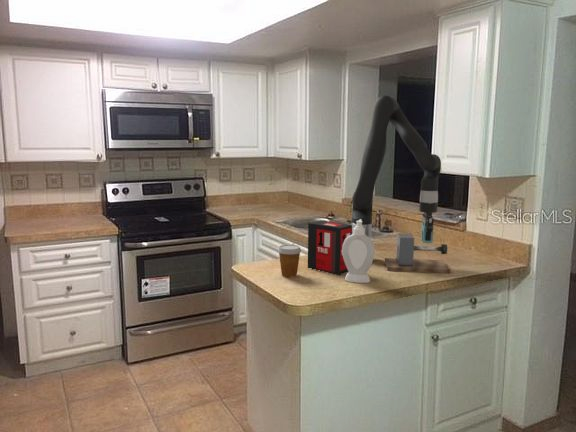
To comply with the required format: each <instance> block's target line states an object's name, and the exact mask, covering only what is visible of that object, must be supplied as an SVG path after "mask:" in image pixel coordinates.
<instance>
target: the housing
mask: <svg viewBox="0 0 576 432" xmlns="http://www.w3.org/2000/svg"><path fill="white" fill-rule="evenodd" d="M396 237H397V239H396V240H397V241H396V260H397V263H398V265H399V266H413V259H414V251H415V250H414V246H415V237H414V235H413V233H407V232H406V233H404V232H403V233H402V232H398V233H397V236H396Z"/></svg>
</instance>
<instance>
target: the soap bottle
mask: <svg viewBox="0 0 576 432" xmlns="http://www.w3.org/2000/svg"><path fill="white" fill-rule="evenodd" d="M356 222H357V226H355V228H353V234H352V235H350V236H348V237H347V238H346V239H345V240H344V243H343V246H342V255H343V259H344V262H345V264H346V267H347V269H348V272H347V273H345V274H346V275H345V277H344V281H346V282H350V283H354V282H355V283H356V284H369V283H370V282H371V280H370V277H369V274H368V271H369V270H370V268H371V266H372V264H373V261H374V258H375V256H376V255H375V254H376V247H375V244H374V242H373V240H372V238H371V239H370V237H368V236H366V235H365V228H363V226H362V219H360V220H359V221H356Z"/></svg>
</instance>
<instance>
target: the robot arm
mask: <svg viewBox="0 0 576 432" xmlns="http://www.w3.org/2000/svg"><path fill="white" fill-rule="evenodd" d="M389 123H390V124H391V125H393V127H394V128H395V130H396V131H397V132H398V133H399V136H400V138H401V140H402V141H403V143H404V144H405V145H406V147H407V148H408V150H409V151H410V152H411V153H412V154H413V156H414V158H415V160H416V163H418V166H419V167H420V168H421V169H422V170H423V172H424V173H423V177H421V181H420V193H419V207H418V210H419V212H420V213H422V224H421V226H422V225H424V227H426V230H425V231H426V236H425V240H426V241H430V240H431V232H432V231H433V232H434V220H435V219H434V216H433V214H434V213H437V212H438V204H439V192H438V191H439V189H438V188H439V178H440V173H441V169H442V160H441V158H440V156H438V154H434V153H431V151H430V150H429V149H428V145H427V142H426V141H425V140H424V139H423V137H422V136H421V135H420V133H419V132H418V131H417V130H416V129H415V128H414V126H413V125H412V124H411V123H410V121H409V120H408V118H407V117H406V115H405V113H404V112H403V109H402V108H401V107H400V104H399V103H398V101H397V99H396V98H394V97H391V96H390V95H381V96H379V97H378V98H377V100H376V101H375V102H374V106H373V112H372V119H371V125H370V129H369V132H368V136H367V140H366V143H365V147H364V151H363V154H362V160H361V167H360V175H359V179H358V183H357V184H356V189H355V191H354V192H353V194H352V198H351V199H352V206H351V207H352V208H351V209H352V213H351V225H352V234H353V228H355V226H357V222H356V221H359V220H360V219H362V226H363V228H365V235H366V236H368V237H370V239H371V240H372V228H373V227H372V226H373V223H372V222H373V201H374V200H373V199H374V191H375V185H376V182H377V179H378V176H379V173H380V171H381V168H382V165H383V162H384V159H385V155H386V151H387V131H388V125H389ZM428 227H430V229H428Z"/></svg>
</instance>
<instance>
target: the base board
mask: <svg viewBox="0 0 576 432" xmlns="http://www.w3.org/2000/svg"><path fill="white" fill-rule="evenodd" d="M384 263H385V267H386V271H390V272H409V273H410V272H414V273H415V272H416V273H417V272H418V273H434V274H435V273H437V274H439V273H440V274H441V273H442V274H450V273H451V269H450V268H449V266H448V265H447V264H446V262H445V261H444V260H443V259H422V258H421V259H420V258H419V259H418V258H413V266H399V265H398V263H397V260H396V258H395V257H393V258H392V257H391V258H390V257H385V258H384Z"/></svg>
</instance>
